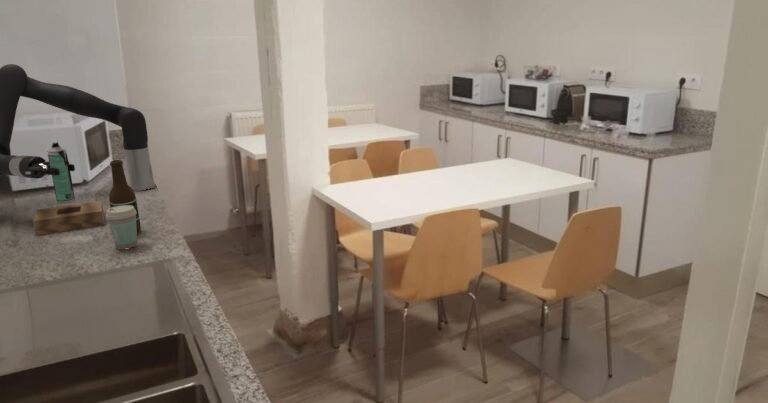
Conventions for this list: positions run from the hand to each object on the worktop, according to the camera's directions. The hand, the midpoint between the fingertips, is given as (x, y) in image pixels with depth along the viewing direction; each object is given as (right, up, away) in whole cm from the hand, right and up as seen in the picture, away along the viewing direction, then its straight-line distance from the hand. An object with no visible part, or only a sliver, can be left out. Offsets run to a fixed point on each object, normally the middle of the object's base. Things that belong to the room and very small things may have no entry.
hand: (66, 169), depth 186 cm
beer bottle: (+22, -21, -4) cm, 31 cm away
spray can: (-2, -10, +4) cm, 11 cm away
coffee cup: (+27, -24, -15) cm, 40 cm away
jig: (-2, -18, +6) cm, 19 cm away
